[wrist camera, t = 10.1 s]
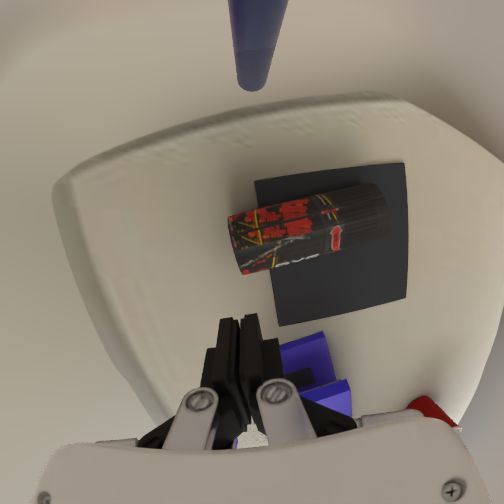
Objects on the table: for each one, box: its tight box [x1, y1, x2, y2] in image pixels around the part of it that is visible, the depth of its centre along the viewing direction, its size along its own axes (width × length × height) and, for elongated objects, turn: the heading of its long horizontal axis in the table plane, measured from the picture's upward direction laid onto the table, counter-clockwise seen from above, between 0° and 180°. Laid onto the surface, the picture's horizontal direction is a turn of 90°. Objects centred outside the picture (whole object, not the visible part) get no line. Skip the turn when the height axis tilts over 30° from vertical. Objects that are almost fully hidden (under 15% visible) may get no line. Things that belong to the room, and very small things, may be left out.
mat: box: [254, 163, 408, 327], centre depth 31 cm, size 18×18×1 cm
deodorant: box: [228, 183, 390, 275], centre depth 27 cm, size 6×6×15 cm
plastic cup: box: [407, 396, 462, 435], centre depth 37 cm, size 11×11×12 cm
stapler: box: [279, 331, 351, 417], centre depth 35 cm, size 12×28×10 cm, turn 20°
